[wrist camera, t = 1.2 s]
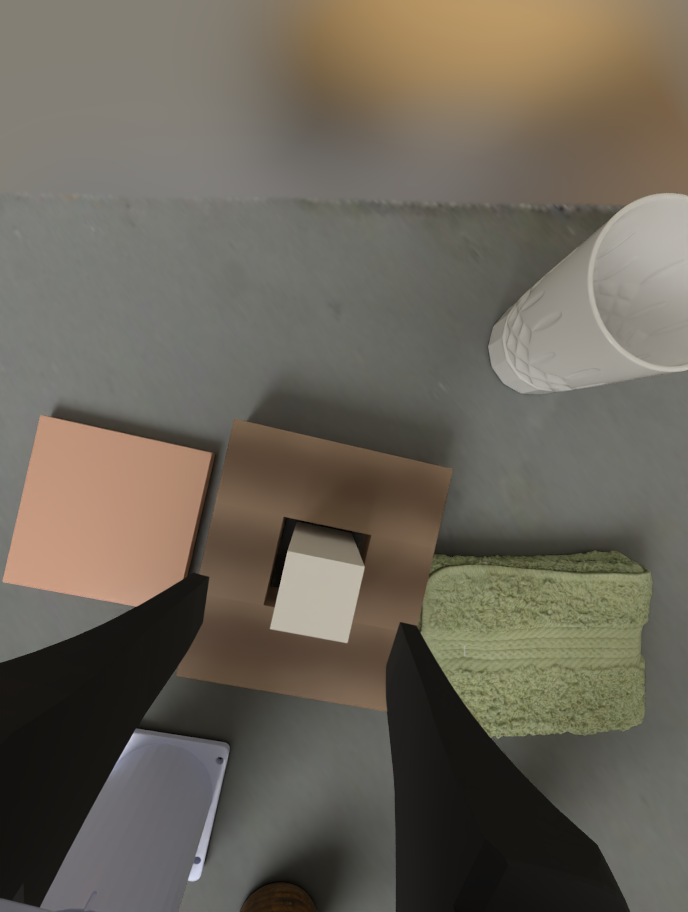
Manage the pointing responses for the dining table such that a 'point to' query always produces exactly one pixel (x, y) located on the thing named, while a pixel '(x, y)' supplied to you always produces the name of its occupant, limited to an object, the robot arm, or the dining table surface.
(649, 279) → the white cup
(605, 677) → the washcloth
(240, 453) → the brown board with hole
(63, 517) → the tile
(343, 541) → the plug
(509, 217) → the dining table surface
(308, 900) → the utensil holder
